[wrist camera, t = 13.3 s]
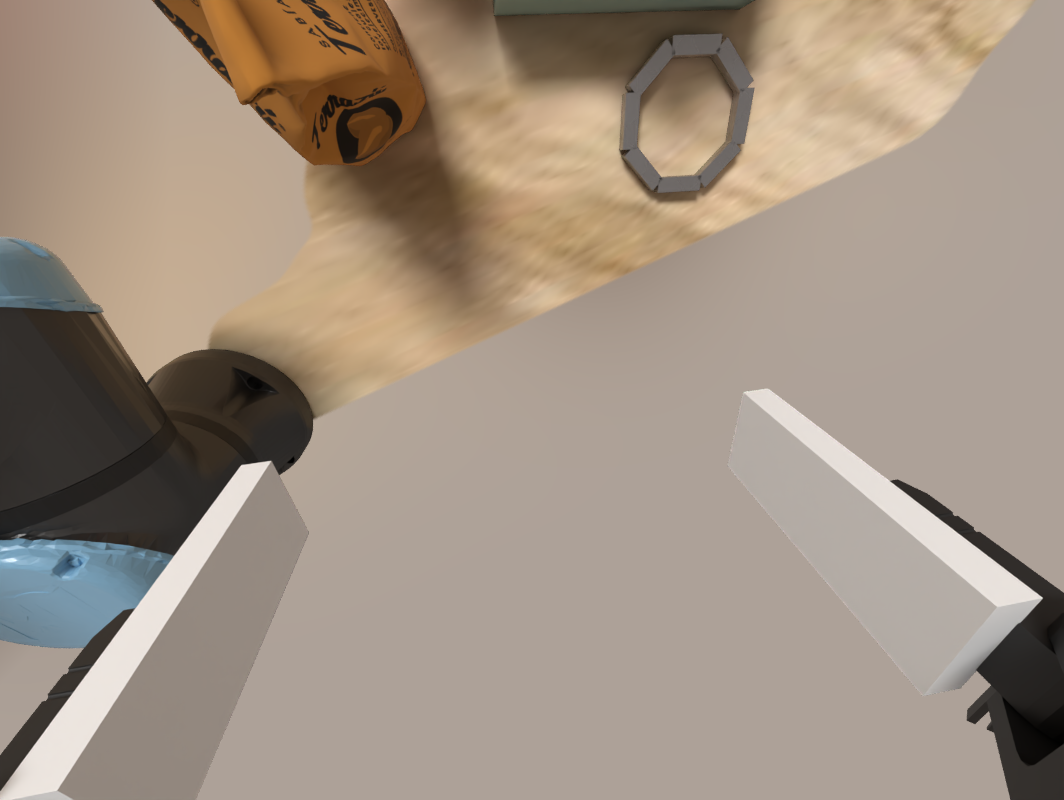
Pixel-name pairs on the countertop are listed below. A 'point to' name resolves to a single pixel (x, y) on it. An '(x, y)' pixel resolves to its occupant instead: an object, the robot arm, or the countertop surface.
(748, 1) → the bin
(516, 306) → the countertop surface
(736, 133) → the collar
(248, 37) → the coffee package
